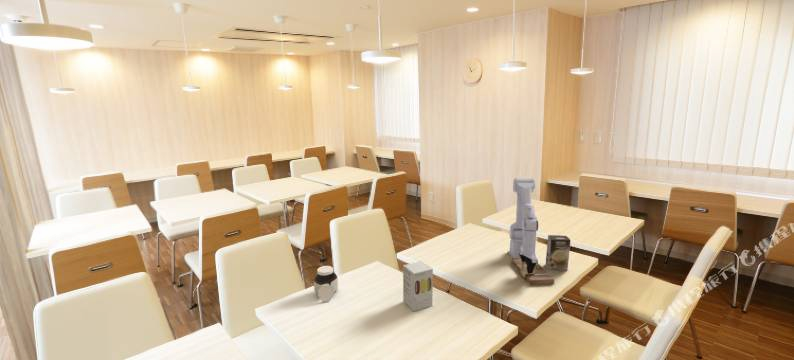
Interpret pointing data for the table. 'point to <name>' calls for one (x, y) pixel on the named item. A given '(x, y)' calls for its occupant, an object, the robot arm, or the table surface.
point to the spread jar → (325, 283)
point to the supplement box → (417, 285)
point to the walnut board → (535, 274)
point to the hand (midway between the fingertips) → (527, 270)
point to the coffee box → (557, 252)
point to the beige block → (525, 268)
